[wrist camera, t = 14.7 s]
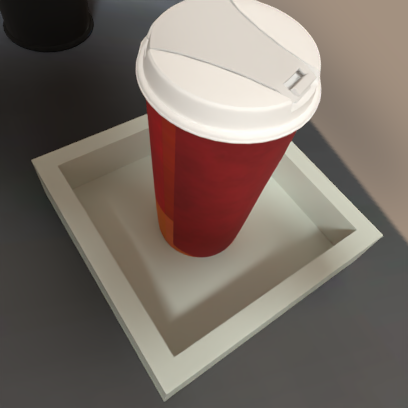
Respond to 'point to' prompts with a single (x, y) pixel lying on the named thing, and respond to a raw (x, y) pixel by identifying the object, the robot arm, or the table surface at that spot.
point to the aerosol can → (46, 23)
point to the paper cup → (221, 112)
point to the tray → (196, 266)
